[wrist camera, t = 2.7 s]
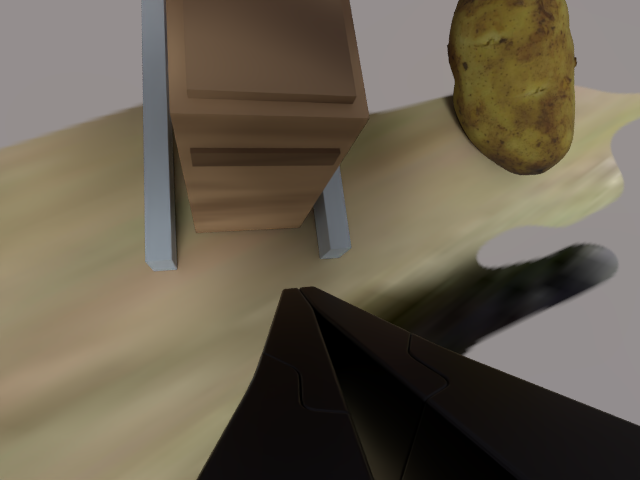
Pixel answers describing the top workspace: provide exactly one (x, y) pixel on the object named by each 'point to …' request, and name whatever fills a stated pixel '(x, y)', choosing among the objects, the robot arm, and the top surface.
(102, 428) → the top surface
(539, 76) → the potato
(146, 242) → the blue-gray angular pronged part
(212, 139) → the crate
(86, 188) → the top surface
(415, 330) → the top surface
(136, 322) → the top surface
